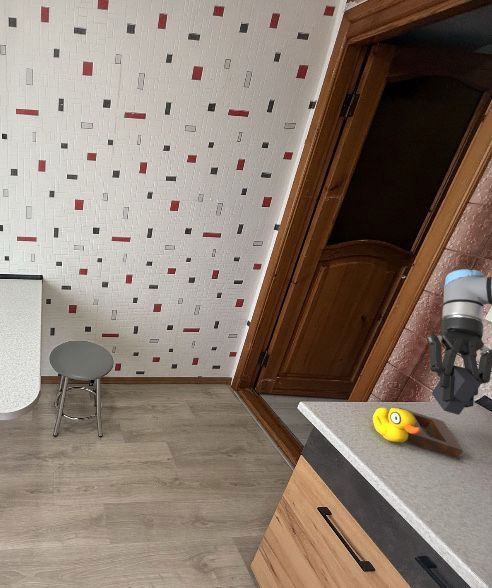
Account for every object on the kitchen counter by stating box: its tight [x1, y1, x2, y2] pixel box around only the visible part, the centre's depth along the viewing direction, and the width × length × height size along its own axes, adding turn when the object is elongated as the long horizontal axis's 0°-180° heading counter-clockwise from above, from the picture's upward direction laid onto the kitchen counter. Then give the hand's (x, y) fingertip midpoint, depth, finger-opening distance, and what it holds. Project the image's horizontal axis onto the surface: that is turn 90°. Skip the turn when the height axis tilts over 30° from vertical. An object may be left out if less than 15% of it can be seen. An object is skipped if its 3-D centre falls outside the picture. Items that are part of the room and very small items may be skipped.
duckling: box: [372, 407, 421, 443], centre depth 89 cm, size 11×5×10 cm, turn 175°
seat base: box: [398, 407, 464, 460], centre depth 93 cm, size 10×12×3 cm
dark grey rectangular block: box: [431, 364, 482, 416], centre depth 87 cm, size 3×8×10 cm, turn 152°
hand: (457, 403), depth 85 cm, fingers closed on dark grey rectangular block, 3 cm apart
